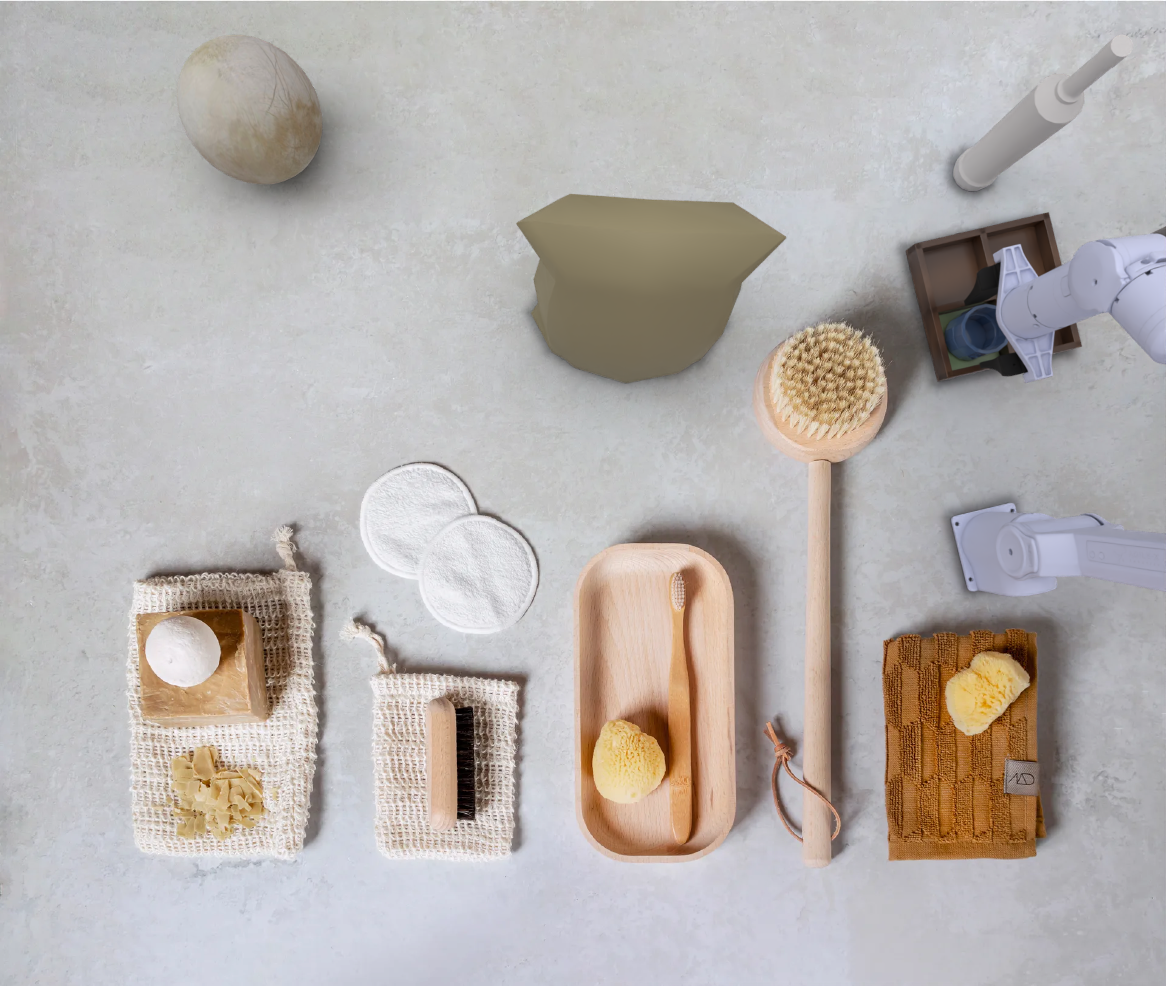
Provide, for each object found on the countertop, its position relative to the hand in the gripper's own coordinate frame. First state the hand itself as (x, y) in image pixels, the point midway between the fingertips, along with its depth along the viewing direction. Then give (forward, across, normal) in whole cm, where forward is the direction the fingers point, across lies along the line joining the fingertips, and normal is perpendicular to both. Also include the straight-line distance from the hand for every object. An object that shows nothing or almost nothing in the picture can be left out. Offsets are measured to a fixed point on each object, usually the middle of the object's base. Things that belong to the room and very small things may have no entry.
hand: (980, 332), depth 86 cm
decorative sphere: (+4, +43, +77) cm, 88 cm away
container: (+4, +12, +40) cm, 42 cm away
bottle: (+4, +20, -6) cm, 21 cm away
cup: (+3, 0, 0) cm, 3 cm away
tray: (+4, +4, -5) cm, 7 cm away
